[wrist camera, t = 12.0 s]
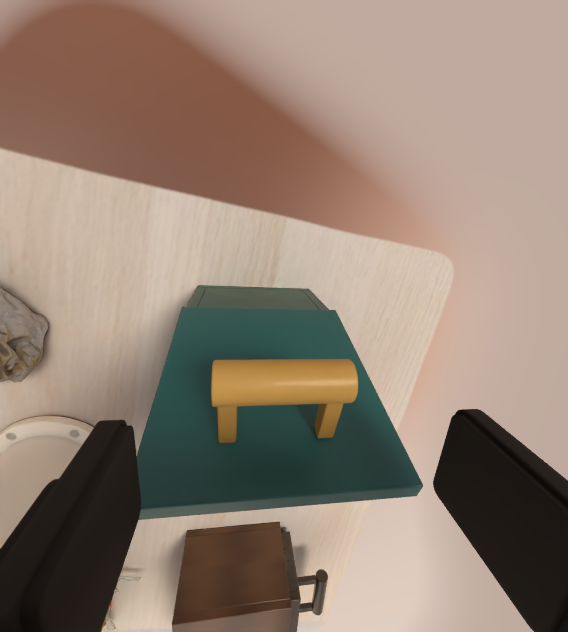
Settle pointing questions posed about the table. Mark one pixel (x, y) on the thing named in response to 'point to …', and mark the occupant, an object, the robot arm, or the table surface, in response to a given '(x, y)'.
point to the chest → (255, 298)
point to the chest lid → (266, 418)
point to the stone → (19, 338)
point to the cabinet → (233, 581)
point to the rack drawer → (295, 582)
